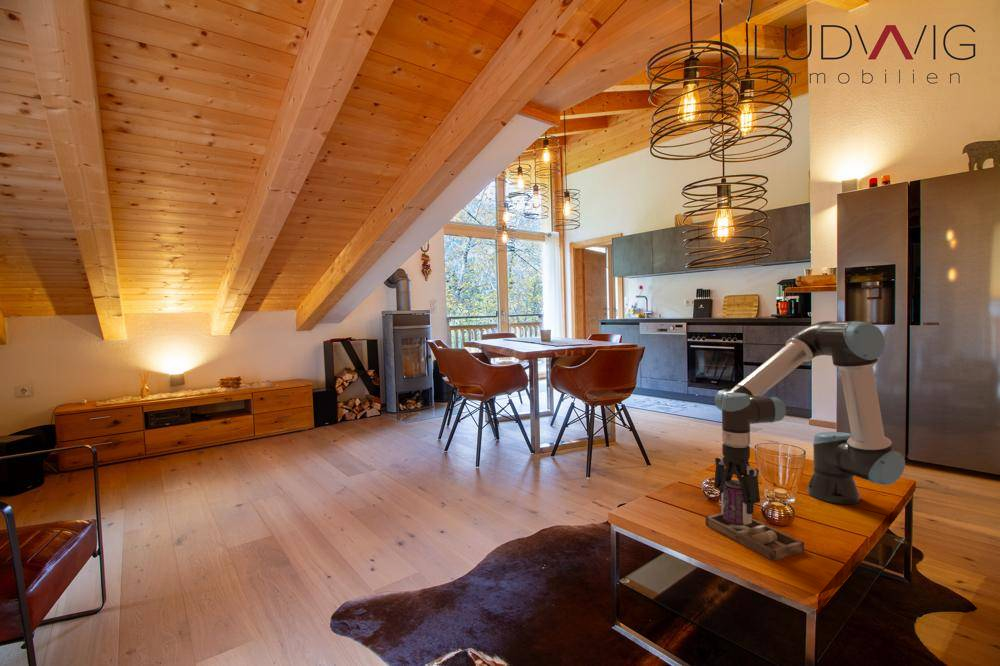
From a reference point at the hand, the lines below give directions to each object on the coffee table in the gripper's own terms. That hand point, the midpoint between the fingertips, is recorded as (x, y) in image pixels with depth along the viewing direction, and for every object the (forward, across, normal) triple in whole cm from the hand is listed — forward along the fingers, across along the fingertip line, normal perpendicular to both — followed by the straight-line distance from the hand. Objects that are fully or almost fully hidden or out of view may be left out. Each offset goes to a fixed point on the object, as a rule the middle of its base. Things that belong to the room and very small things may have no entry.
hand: (736, 517), depth 140 cm
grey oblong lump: (+3, +11, 0) cm, 11 cm away
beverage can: (+1, 0, 0) cm, 1 cm away
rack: (+4, +6, 0) cm, 7 cm away
